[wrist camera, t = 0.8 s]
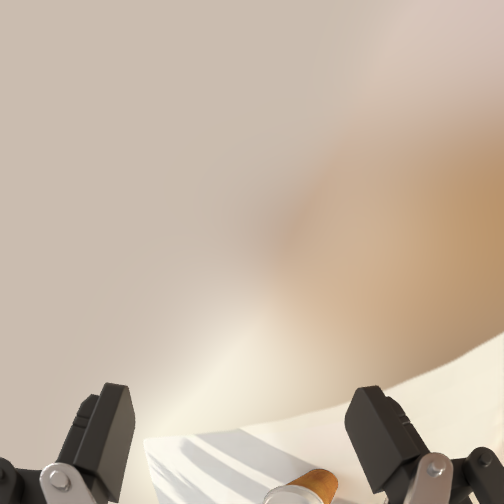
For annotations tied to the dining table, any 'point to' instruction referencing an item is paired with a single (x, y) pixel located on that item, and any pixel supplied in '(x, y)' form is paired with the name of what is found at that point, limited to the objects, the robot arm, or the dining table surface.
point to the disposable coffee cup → (305, 489)
